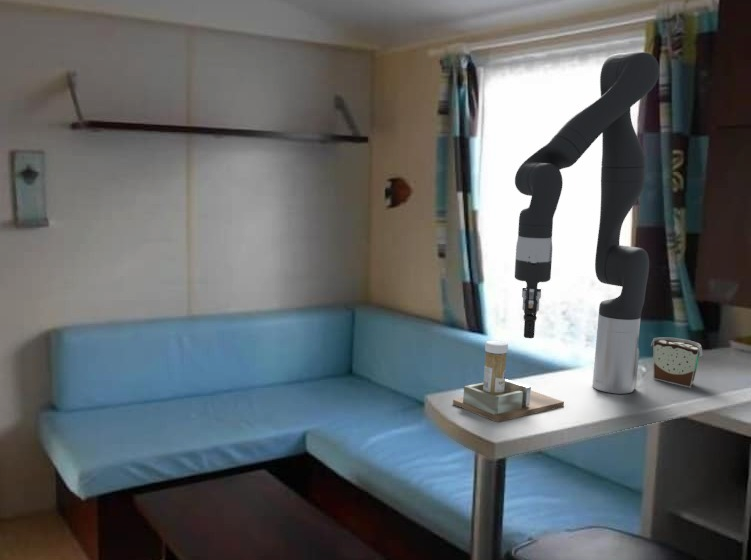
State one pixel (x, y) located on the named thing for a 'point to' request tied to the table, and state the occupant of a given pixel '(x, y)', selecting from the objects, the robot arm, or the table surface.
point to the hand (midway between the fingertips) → (528, 337)
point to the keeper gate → (515, 386)
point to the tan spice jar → (495, 367)
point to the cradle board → (503, 403)
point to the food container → (675, 360)
